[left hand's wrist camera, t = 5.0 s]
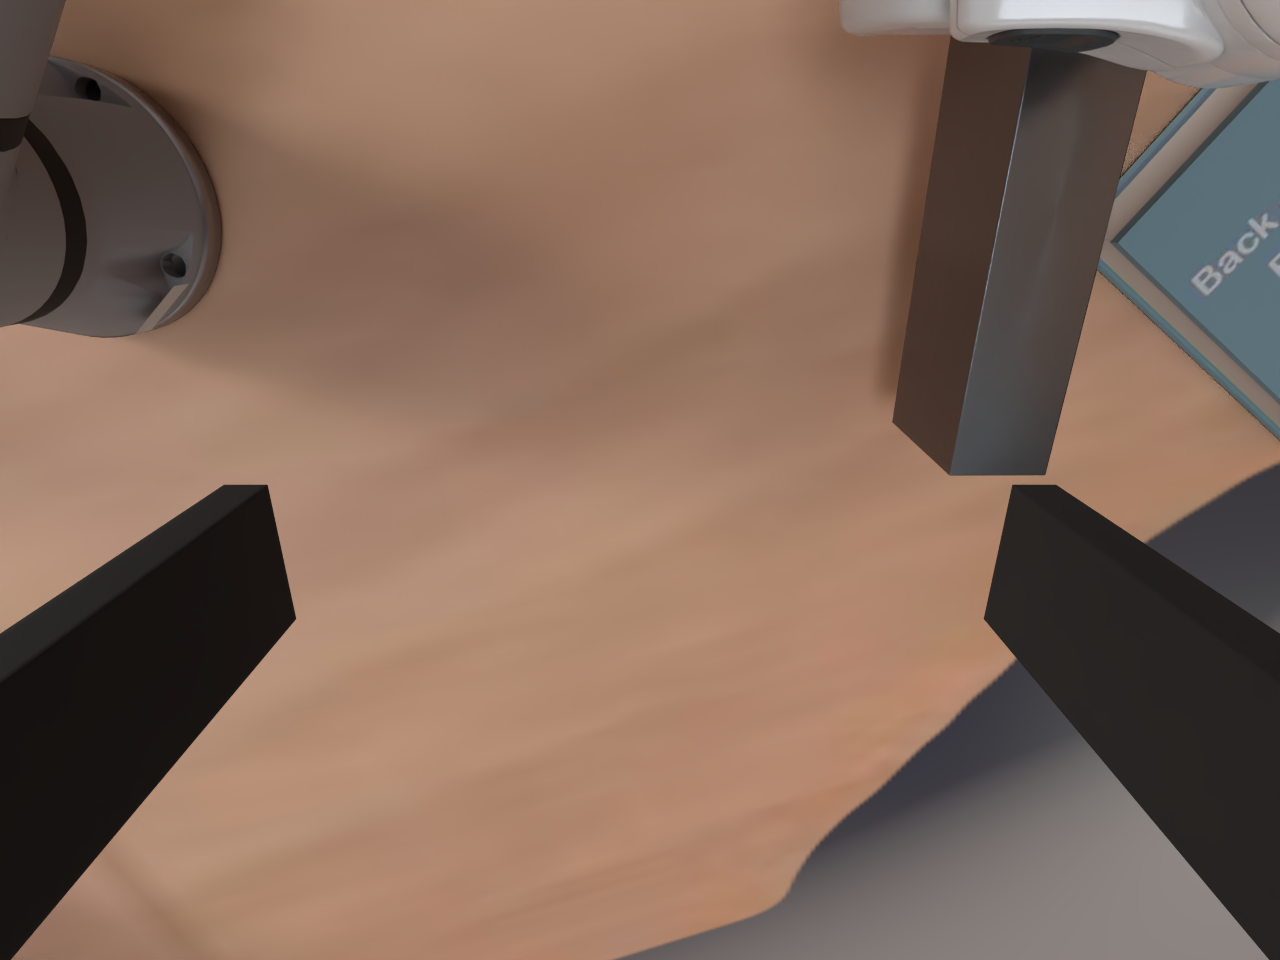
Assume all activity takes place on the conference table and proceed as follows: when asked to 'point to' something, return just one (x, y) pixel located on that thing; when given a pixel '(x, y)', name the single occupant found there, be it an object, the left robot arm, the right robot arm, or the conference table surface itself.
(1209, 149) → the book
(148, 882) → the conference table surface
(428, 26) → the conference table surface
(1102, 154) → the bar
